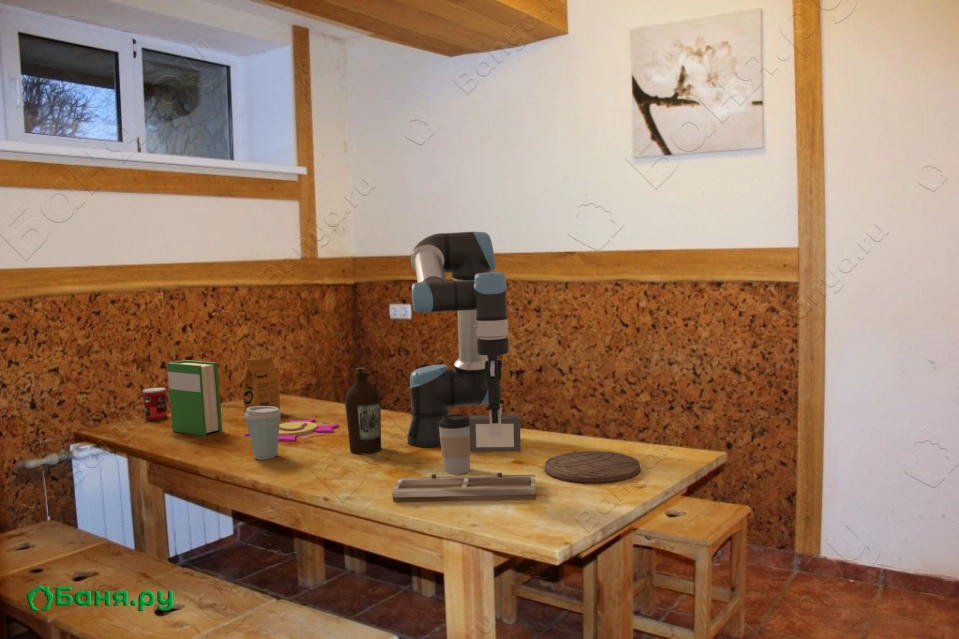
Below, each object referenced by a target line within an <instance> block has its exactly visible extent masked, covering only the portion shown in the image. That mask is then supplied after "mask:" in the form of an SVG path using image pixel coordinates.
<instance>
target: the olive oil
mask: <svg viewBox="0 0 959 639" xmlns="http://www.w3.org/2000/svg"><path fill="white" fill-rule="evenodd" d="M381 400H382V399H381V394H380V392H379V390H378V389H377V388H376V387H375V386H374V385H373V384H372V383H371V382H370V381H369V380H368V372H367V368H366V367H365V366H364V367H357V368H355V381H354V383H353V384H352V385H351V386H350V388H349V389H348V390H347V392H346V394H345V398H344V406H345V413H346V414H345V416H346V421H347V422H346V423H347V432H348V443H349V444H348V445H349V452H350V453H352V454H355V453H356V455H357V454H358V455H363V454H362V453H368V454H374V453H377V452H379V451H381V449H382V420H381V419H382V416H381V414H382V413H381V412H382V408H381V406H382V404H381V402H382V401H381ZM359 453H360V454H359Z"/></svg>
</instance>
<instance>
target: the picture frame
mask: <svg viewBox="0 0 959 639" xmlns="http://www.w3.org/2000/svg"><path fill="white" fill-rule="evenodd" d="M468 419H469V425H470V452H471V453H491V452H492V453H496V452H497V453H499V452H501V453H503V452H504V453H505V452H507V453H509V452H511V453H513V452H514V453H517V452H519V453H520V452H521V449H522V448H521V446H522V445H521V440H522V439H521V415H520V414H508V415H507V414H504V415H503V414H502V415H501V431H502V436H494V437H490V420H489V414H488V415H483V414H482V415H481V414H480V415H470V416H469V418H468Z"/></svg>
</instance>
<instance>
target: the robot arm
mask: <svg viewBox="0 0 959 639" xmlns="http://www.w3.org/2000/svg"><path fill="white" fill-rule="evenodd" d="M494 252H495V251H494V247H493V242H492V239H491V236H490V235H489V233H487V232H486V231H463V232H462V231H461V232H460V231H459V232H445V233H444V232H440V233H434V234H431V235H429V236H427V237H425V238H422V240H420V241H419V242H418V243H416V245H415V246H414V247H413V249H412V251H411V253H410V265H411V267H412V270H413V271H414V272H415V275H416V281H417V282H415V283H412V285H411V300H412V310H413V311H414V312H415V313H426V314H430V313H444V312H456V311H457V332H458V333H457V335H458V359H456V360H455V361H454V365H453V366H454V368H448V366H447V365H446V364H433V365H426V366H423V367H419V368H417V369H414V370H413V371H412V372H411V374H410V376H409V377H410V378H409V379H410V381H409V382H410V384H409V389H410V402H411V421H410V424H409V427H408V432H407V436H406V438H407V444H409V445H411V446H414V447H420V448H421V447H424V448H427V447H428V448H430V447H431V448H432V447H441V443H440V430H439V426H438V425H439V421H440V420H442V417H443V416H446V415H450V407H452V408H453V407H465V406H467V407H468V406H481V405H486V404H487V406H486V407H485V410H486V411H488V415H489V420H490V437H494V436H502V431H501V415H503V413H502V412H503V410H502V408H503V406H502V404H505V400H504V399H503V400H502V388H501V387H502V386H501V384H502V383H501V380H502V375H503V374H502V367H503V360H500V358H499V356H500V355H501V356H502V355H503V356H504V355H506V354H508V353H509V350H510V346H509V338H508V337H507V336H508V335H509V320H508V309H507V308H508V305H507V304H508V303H507V302H508V300H507V298H508V297H507V288H508V287H507V286H508V284H507V279H506V274H505V273H504V272H501V271H500V272H498V271H495V270H496V260H495V259H496V258H495V253H494ZM493 271H495V272H493ZM445 273H450V274H451V279H452V280H447V279H446V278H447V277H446V274H445Z"/></svg>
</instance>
